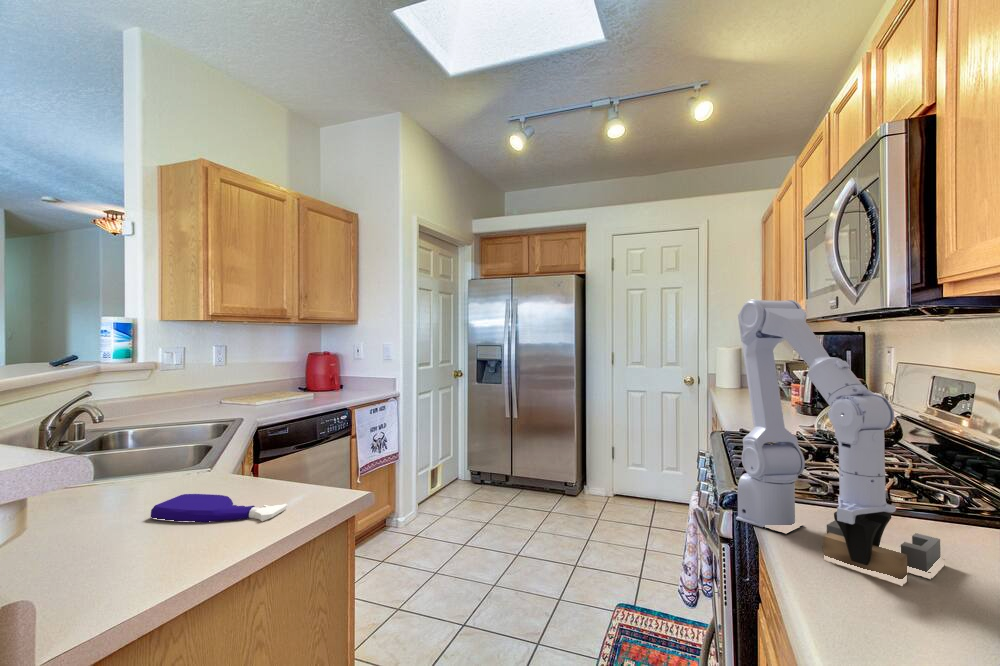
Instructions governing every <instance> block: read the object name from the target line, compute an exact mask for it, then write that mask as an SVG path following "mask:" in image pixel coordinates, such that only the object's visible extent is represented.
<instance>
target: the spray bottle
mask: <svg viewBox="0 0 1000 666" xmlns="http://www.w3.org/2000/svg"><path fill="white" fill-rule="evenodd" d="M288 507H289V505H288V503H283V504H276V505H271V506H270V505H267V504H263V507H256V506H255V505H248V506H245V505H236V504H234V502H233V501H232V498H230V496H228V495H224V494H223V495H222V494H207V493H184V494H180V495H177V496H175V497H172V498H170V499H167V500H165V501H162V502H160V503H158V504H155V505H154V506H153V507H152V508H151V510H150V518H151V517H152V518H157V519H165V520H174V521H195V522H204V523H210V522H209V521H216V522H225V521H224V520H229V521H238V520H237V519H240V520H248V519H256V520H259V521H260V522H261V521H262V522H264V521H267V520H269V519H272V518H274V517H275V516H277V515H279V514H280V513H282V512H284V511H285V510H286V509H288ZM152 518H151V519H152ZM247 518H248V519H247Z"/></svg>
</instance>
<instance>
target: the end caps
mask: <svg viewBox="0 0 1000 666" xmlns="http://www.w3.org/2000/svg"><path fill="white" fill-rule="evenodd" d="M828 533H833V534H836V535H840V536H843V537H844V535H843V533H842V531H841V529H840V527H839V525H838V523H837V522H836V521H835V520H833V521H831V522H829V523H828V524H826V534H828ZM911 539H912V540H911V542H907V541H904V542H902V543H901V544H900V547H901V553H903V554H907V566H909V567H912V568H916V569H919V570H922V571H925V572H927V571H928V570H929V569H930V568H931V567H932V566H933V564H934V563H935V562H936V561H937V560H938V559H939V558H940V557H941V556H942V555H941V538H937V537H933V536H929V535H925V534H921V533H917V532H915V533H913V534H912V536H911ZM941 558H942V557H941Z"/></svg>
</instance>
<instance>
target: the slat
mask: <svg viewBox="0 0 1000 666" xmlns="http://www.w3.org/2000/svg"><path fill="white" fill-rule="evenodd" d="M822 539H823V545H822V546H823V547H822V548H823V549H822V550H823V556H824V555H825V556H828V557H830V558H834V559H836V560H839V561H842V562H844V563H847V564H850V565H854V566H857V567H860V568H863V569H867V570H871V571H876V572H879V573H883V574H887V575H890V576H893V577H895V578H898V579H903V578H904V577H905V576H906V575H907V576H908V573H907V554H903V553H900V552H896V551H893V550H889V549H886V548H882V547H878V546H875V545H872V552H871V558H870V562H869V564H868V565H864V564H860V563H857V562H854V561H852V560H851V558H850V555H849V552H848V548H847V544H846V541H845V538H844V537H843V536H840V535H836V534H833V533H828V534H827V533H826V534H825V535H823V536H822Z"/></svg>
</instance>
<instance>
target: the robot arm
mask: <svg viewBox="0 0 1000 666" xmlns="http://www.w3.org/2000/svg"><path fill="white" fill-rule="evenodd" d="M737 320H738V327H739V328H738V329H739V334H740V341H741V344H742V351H743V360H744V366H745V372H746V381H747V387H748V395H749V402H750V403H749V404H750V409H751V410H750V411H751V417H752V423H753V428H752V430H751V431H750V432H749V433H748V434H746V435H745V436H744V437H743V438H742V446H743V447H742V453H741V463H742V466H743V468H744V470H745V472H746V473H743V474H742V475H741V476H740V477H739V480H738V483H737V516H736V517H735V520H737V521H740V522H743V523H746V524H750V525H754V526H756V527H760V528H763V527H765V525H792V524H794V523H795V521H796V499H795V498H796V495H795V494H796V491H795V490H796V489H795V487H796V486H795V482H797V481H799V476H800V475H801V474H802V473H803V472H804V470H805V466H806V462H805V461H806V460H805V457H804V454H803V451H802V450H801V448H800V445H799V440H798V437H797V436H796V435H794V434H793V433H792V432H791V431H789V430H788V429H787V428H786V427H785V421H784V420H785V419H784V413H783V407H782V401H781V395H780V393H781V392H780V387H779V382H778V381H779V379H778V375H777V373H778V372H777V367H776V361H775V355H774V349H775V347H776V346H777V345H778V344H781V343H782V342H783V341H784V340H785V341H786V342H787V344H788V345H789V346H790V347H792V349H793V350H794V351H795V352H796V354H797V355H798V356H800V358H801V359H802V360H803V361H804V362H805V363H806V365H807V366H808V367H809V368H808V371H807V377H808V378H809V379H808V380H810V382H811V383H812V384H813V385H814V386H815V388H816V389H817V391H818V392H819V394H820V395H821V396H822V398H823V399H824V401H825V402H826V403H827V404H828V406H829V407H830V408H829V409H830V410H828V411H827V415H828V419H829V422H830V423H831V425H832V426H833V430H834V437H835V438H836V441H838V475H839V477H838V479H839V480H838V481H839V483H838V485H839V495H838V496H837V501H838V507H836V511H835V512H833V518H834V521H836V522H837V523H838V525H839V527H840V529H841V531H842V533H843V535H844V538H845V541H846V544H847V548H848V552H849V555H850V558H851V560H852V561H854V562H857V563H860V564H864V565H868V564H869V562H870V558H871V552H872V545H875V546H878V547H879V545H880V542H882V541H881V540H882V537H883V533H884V531H885V530H886V527H887V526H888V524H889V522H890V521H891V519H892V514H891V513H894V512H896V511H897V506H896V505H893V504H890V503H887V500H886V499H887V497H886V494H887V493H886V462H885V461H886V457H885V456H886V455H885V449H886V448H885V431H887V430H889V428H890V427H892V425H893V423H894V421H895V412H894V408H893V407H892V404H891V403H890V402H889V399H887V398H886V397H885V396H884V395H881V394H877V393H874V392H872V390H870V389H868V388H867V387H866V386H865V385H864V384H863V383H862V382H861V381H860V379H858V377H857V376H856V374H854V372H853V371H852V370H851V369H850V367H851V366H850V364H849V363H848V362H847V361H846V360H843V359H841V358H839V357H832V356H830V355H829V353H828V352H827V350H826V349H825V348H824V346H823V345H822V343H821V342H820V341H819V339H818V337H817V336H816V334H815V333H814V332H813V330H812V329H811V327H810V326H809V324H808V323H807V311H805V310H804V309H803V308H802V306H801V304H800V303H798V301H796V300H792V299H791V300H790V299H789V300H762V299H761V300H760V299H752V298H751V299H749V300H747V301H746V302H745V303H744V304H743V305H742V307H741V309H740V311H739V312H738V314H737ZM766 443H771V444H766ZM772 443H775V444H772Z"/></svg>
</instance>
